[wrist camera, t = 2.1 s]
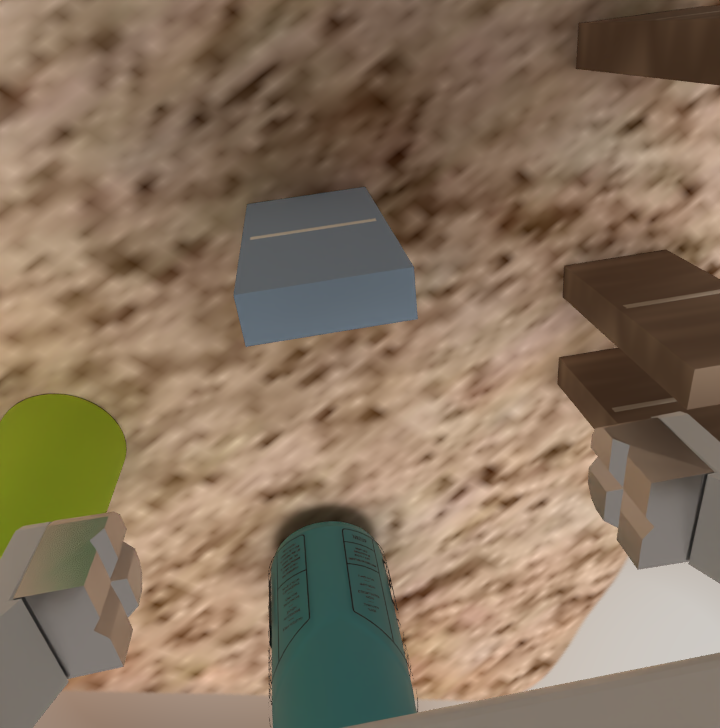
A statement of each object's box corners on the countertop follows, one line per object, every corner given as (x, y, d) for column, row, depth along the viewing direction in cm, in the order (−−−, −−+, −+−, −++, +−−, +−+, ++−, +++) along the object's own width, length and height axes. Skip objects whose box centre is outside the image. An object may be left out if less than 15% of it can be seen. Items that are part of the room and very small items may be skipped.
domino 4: (559, 357, 31) (672, 485, 22) (652, 341, 31) (801, 462, 22) (557, 384, 31) (666, 518, 23) (648, 368, 32) (790, 495, 23)
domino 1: (246, 203, 25) (233, 294, 16) (364, 186, 25) (413, 266, 16) (254, 241, 26) (246, 346, 17) (369, 223, 26) (417, 319, 17)
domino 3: (564, 265, 28) (694, 369, 19) (666, 249, 28) (839, 344, 20) (562, 297, 29) (686, 409, 20) (661, 281, 29) (825, 385, 20)
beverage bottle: (249, 523, 33) (224, 1056, 16) (359, 481, 33) (457, 983, 15) (296, 594, 36) (317, 1102, 19) (397, 557, 36) (512, 1042, 19)
